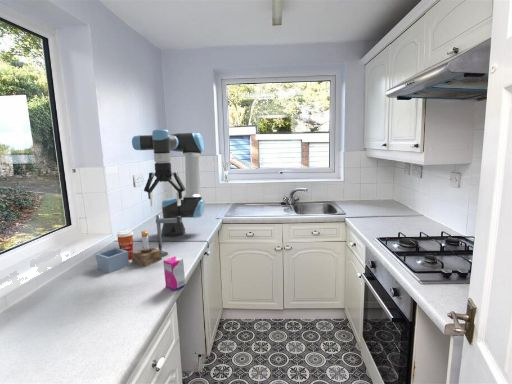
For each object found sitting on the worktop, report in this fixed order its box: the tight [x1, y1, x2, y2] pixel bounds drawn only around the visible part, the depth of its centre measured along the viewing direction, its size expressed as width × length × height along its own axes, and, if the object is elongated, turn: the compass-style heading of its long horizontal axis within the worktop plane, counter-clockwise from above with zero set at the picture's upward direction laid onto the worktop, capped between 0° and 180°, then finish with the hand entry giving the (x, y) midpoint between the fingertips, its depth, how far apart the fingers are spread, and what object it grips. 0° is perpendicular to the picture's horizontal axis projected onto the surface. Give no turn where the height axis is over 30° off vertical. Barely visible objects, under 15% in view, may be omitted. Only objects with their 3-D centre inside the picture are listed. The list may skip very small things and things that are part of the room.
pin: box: [141, 230, 150, 253], centre depth 146 cm, size 3×3×15 cm
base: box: [162, 250, 169, 258], centre depth 154 cm, size 5×5×1 cm
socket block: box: [131, 246, 163, 267], centre depth 147 cm, size 10×10×5 cm
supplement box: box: [162, 256, 186, 292], centre depth 119 cm, size 6×6×12 cm
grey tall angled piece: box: [155, 214, 181, 253], centre depth 153 cm, size 13×2×20 cm, turn 92°
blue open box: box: [95, 247, 130, 274], centre depth 141 cm, size 10×10×7 cm
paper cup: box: [116, 229, 134, 261], centre depth 150 cm, size 8×8×14 cm
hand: (165, 205), depth 146 cm, fingers open, 13 cm apart
